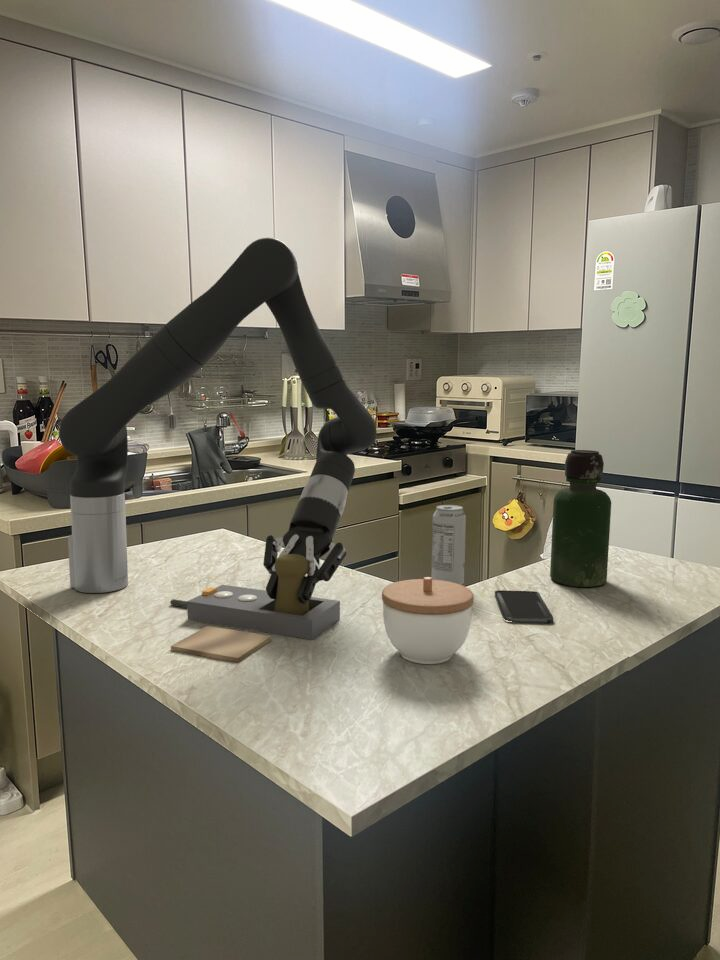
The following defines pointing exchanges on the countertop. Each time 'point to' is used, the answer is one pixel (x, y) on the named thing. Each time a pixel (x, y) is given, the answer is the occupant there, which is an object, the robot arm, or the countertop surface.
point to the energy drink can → (448, 544)
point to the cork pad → (221, 643)
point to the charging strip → (259, 612)
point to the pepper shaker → (290, 584)
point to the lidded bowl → (427, 618)
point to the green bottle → (581, 524)
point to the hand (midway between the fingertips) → (286, 598)
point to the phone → (523, 607)
